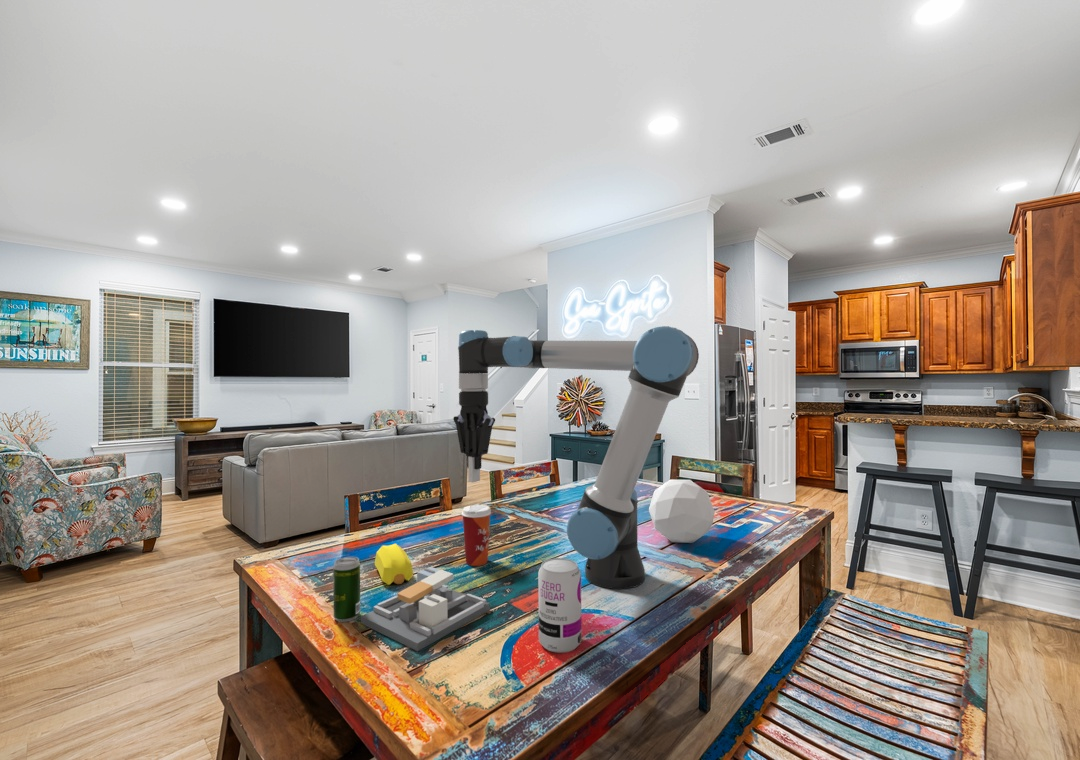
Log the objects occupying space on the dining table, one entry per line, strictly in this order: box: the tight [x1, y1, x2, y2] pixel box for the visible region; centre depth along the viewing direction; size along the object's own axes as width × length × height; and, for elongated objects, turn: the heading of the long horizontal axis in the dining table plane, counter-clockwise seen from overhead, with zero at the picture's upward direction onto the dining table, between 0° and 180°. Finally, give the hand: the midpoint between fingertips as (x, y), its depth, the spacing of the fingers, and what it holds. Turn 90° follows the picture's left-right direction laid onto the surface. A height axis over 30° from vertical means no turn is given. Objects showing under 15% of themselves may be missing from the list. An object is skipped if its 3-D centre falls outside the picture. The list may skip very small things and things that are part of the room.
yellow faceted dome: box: [374, 543, 414, 586], centre depth 127 cm, size 18×7×8 cm
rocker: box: [396, 569, 455, 604], centre depth 104 cm, size 4×12×2 cm, turn 144°
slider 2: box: [419, 594, 448, 629], centre depth 98 cm, size 4×4×5 cm
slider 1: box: [416, 566, 442, 595], centre depth 113 cm, size 4×4×5 cm
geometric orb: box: [648, 478, 715, 544], centre depth 152 cm, size 19×20×20 cm
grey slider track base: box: [360, 584, 491, 652], centre depth 104 cm, size 18×20×6 cm
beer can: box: [332, 556, 362, 623], centre depth 105 cm, size 5×5×12 cm
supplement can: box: [537, 557, 582, 654], centre depth 94 cm, size 8×8×15 cm
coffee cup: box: [461, 504, 492, 567], centre depth 135 cm, size 8×8×15 cm
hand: (474, 481), depth 126 cm, fingers closed
